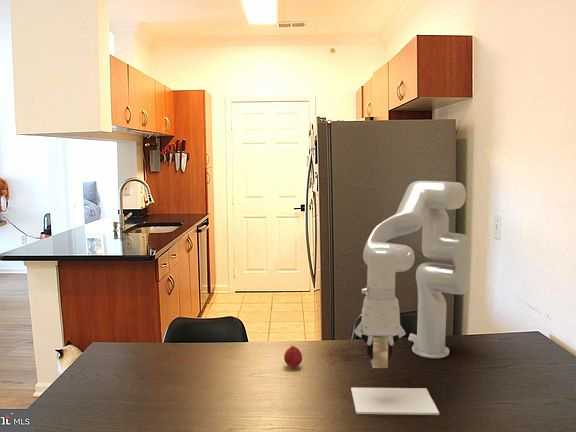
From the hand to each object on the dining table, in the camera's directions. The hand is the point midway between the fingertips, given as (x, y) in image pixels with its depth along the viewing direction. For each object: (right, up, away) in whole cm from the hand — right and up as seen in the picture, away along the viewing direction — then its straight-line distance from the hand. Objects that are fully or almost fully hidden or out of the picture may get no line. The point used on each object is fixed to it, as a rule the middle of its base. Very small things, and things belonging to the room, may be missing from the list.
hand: (379, 356), depth 139 cm
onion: (-24, -11, +24) cm, 35 cm away
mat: (+4, -13, +2) cm, 14 cm away
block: (0, -2, 0) cm, 2 cm away
